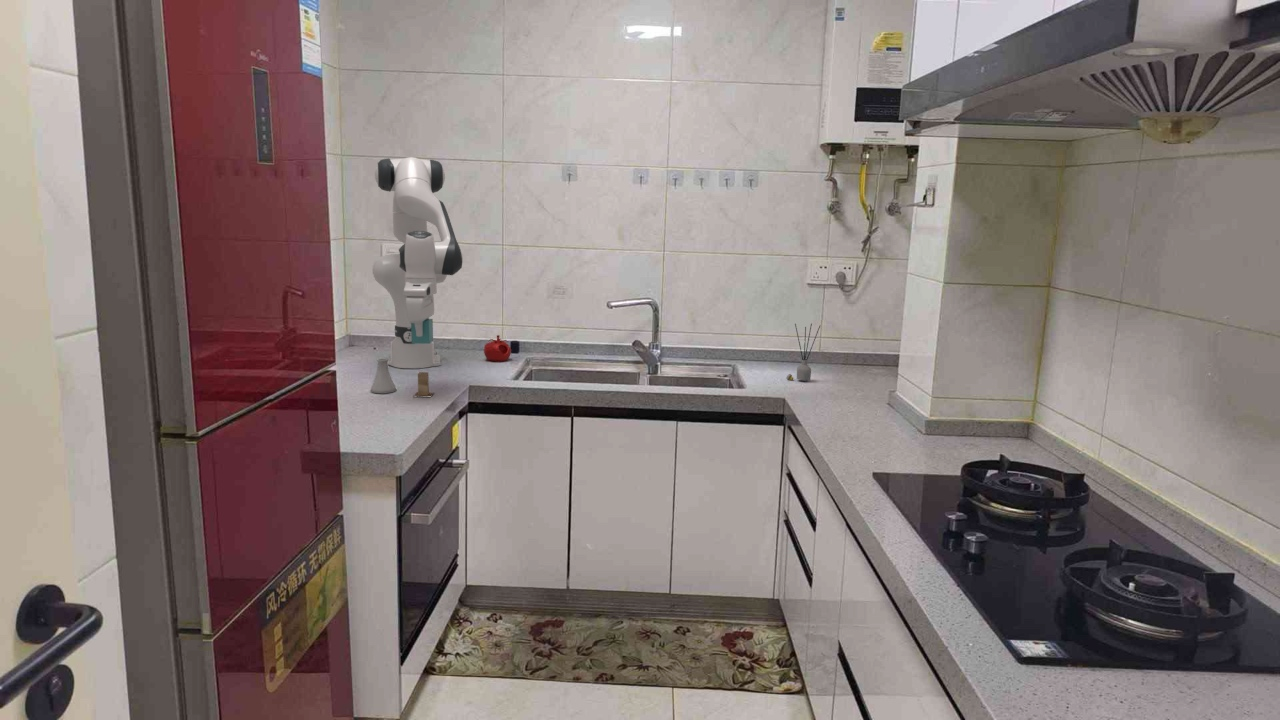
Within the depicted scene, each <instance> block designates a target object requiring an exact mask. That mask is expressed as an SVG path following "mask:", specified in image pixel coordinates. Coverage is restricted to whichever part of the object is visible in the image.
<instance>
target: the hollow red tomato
mask: <svg viewBox="0 0 1280 720" xmlns="http://www.w3.org/2000/svg"><path fill="white" fill-rule="evenodd" d="M500 337H501V336H500V335H499V334H498V335H496V339H492V338H490V339H489V340H488V342H487V343H486V344H484V348H483V354H484V356H485V358H486V359H487V360H488V361H490V362H506V361H507V360H508V359H509V358H510V357H511V355H512V354H511V353H512V348H511V347H510V346H509V344H508V343H509V342H510V341H508V340H507V339H505V340H502V338H500ZM509 360H510V359H509Z"/></svg>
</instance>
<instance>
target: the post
mask: <svg viewBox="0 0 1280 720" xmlns="http://www.w3.org/2000/svg"><path fill="white" fill-rule="evenodd" d="M429 379H430V377H429V371H426V372H425V371H422V372H421V371H419V372H418V373H417V392H416V393H414V394H413V396H417V397H416V398H419V397H418V396H431V395H432V394H433V393H434V391H433V392H432V391H430V390H429V389H430V386H429V385H430V384H429V382H430V381H429ZM434 394H435V393H434ZM434 394H433V395H434ZM433 395H432V396H433ZM432 396H431V397H432Z"/></svg>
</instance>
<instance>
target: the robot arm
mask: <svg viewBox="0 0 1280 720" xmlns="http://www.w3.org/2000/svg"><path fill="white" fill-rule="evenodd" d="M445 175H446V174H445V170H444V168H443V164H442V163H441V162H440V161H438V160H434V159H424V158H418V157H415V156H413V157H411V156H408V157H404V158H393V159H391V158H384V159H380V160H379V161H378V162H377V165H376V167H375V171H374V177H375V181H376V184H377V186H378V187H379V188H380V189H381V191H385V192H388V193H389V192H393V198H392V199H393V200H392V229H393V231H392V232H393V235H394V237H395V238H396V240H397V241H399V242H401V243H403V244H402V245H401V246H400V247H399V248H398V252H399V253H391V254H385V255H381V256H378V257H377V258H376V259H375V261H374V263H373V265H372V275H373V278H374V280H375V281H376V282H377V283H378V284H379V285H380V286H381V287H383V288H384V289H385V290H386V291H387V292H388V293H389V295H390V296H391V300H392V301H393V305H394V312H395V325H394V336H395V337H394V339H393V340H391V341H390V360H388V362H387V364H388V366H392V367H394V368H398V369H399V368H400V369H422V368H423V369H424V368H430V367H431V368H432V367H437V366H442V365H441V355H438V354H437V351H435V342H434V340H433V341H432V342H431V343H430V344H421V343H412V337H411V323H414V324H415V329H416V336H417V337H421V336H423V326H422V325H423V321H424V320H426V319H430V317H431V318H432V316H433V315H434V314H435V302H434V301H435V299H434V295H435V294H438V293H437V289H438V288H437V286H438V285H437V284H440V283H444V282H445V280H446V278H447V277H448V276H454V275H455V274H457V273H458V272H459V271H460V270H461V269H462V267H463V262H464V261H463V259H464V258H463V252H462V250H461V248H460V245H459V243H458V240H457V238H456V235H455V231H454V229H453V226H452V222H451V219H450V216H449V213H448V211H447V208H446V205H445V204H444V202H443V201H442V200H440V199H439V198H437V197H436V196H435V194H434V193H437V192H439V191H441V190H442V188H443V187H444V186H443V185H444V183H445V179H446V176H445ZM427 223H430V224H433V225H434V226H435V227H436V229H437V232H438V235H439V238H440V241H435V239H434V235H433V234H432V233H431V232H430V231H428V224H427Z"/></svg>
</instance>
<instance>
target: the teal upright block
mask: <svg viewBox="0 0 1280 720" xmlns="http://www.w3.org/2000/svg"><path fill="white" fill-rule="evenodd" d="M433 324H434V321H433V318H429V319H426V320H424V321H423V325H422V326H423V336H421V337H417V336H416V329H415V324H414V323H411V337H412V343H421V344H430V343H431V342H432V341H433V342H434V325H433Z"/></svg>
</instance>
